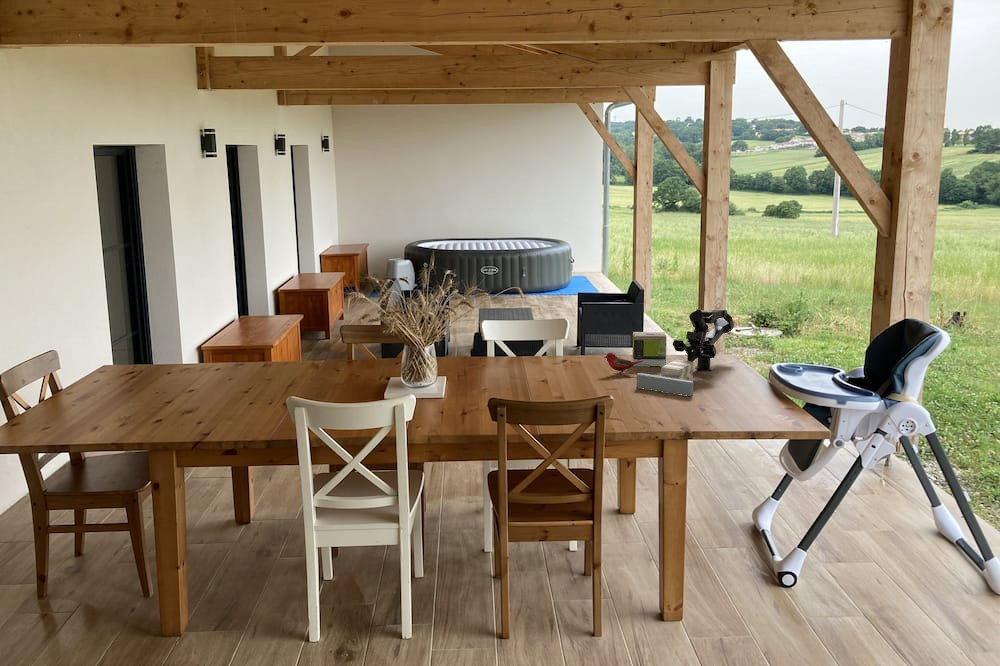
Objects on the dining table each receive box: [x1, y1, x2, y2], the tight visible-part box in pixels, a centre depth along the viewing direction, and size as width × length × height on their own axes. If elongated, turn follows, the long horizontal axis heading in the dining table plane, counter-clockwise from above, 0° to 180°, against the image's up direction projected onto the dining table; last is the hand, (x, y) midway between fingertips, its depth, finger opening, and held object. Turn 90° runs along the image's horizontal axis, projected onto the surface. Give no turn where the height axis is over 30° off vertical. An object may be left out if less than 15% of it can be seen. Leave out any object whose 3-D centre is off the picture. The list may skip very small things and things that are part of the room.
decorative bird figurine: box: [604, 352, 643, 375], centre depth 389 cm, size 3×18×10 cm, turn 92°
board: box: [636, 372, 694, 397], centre depth 362 cm, size 2×24×6 cm, turn 56°
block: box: [660, 359, 694, 381], centre depth 373 cm, size 16×8×9 cm, turn 147°
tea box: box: [632, 331, 667, 368], centre depth 407 cm, size 15×10×15 cm
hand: (688, 363), depth 383 cm, fingers closed
